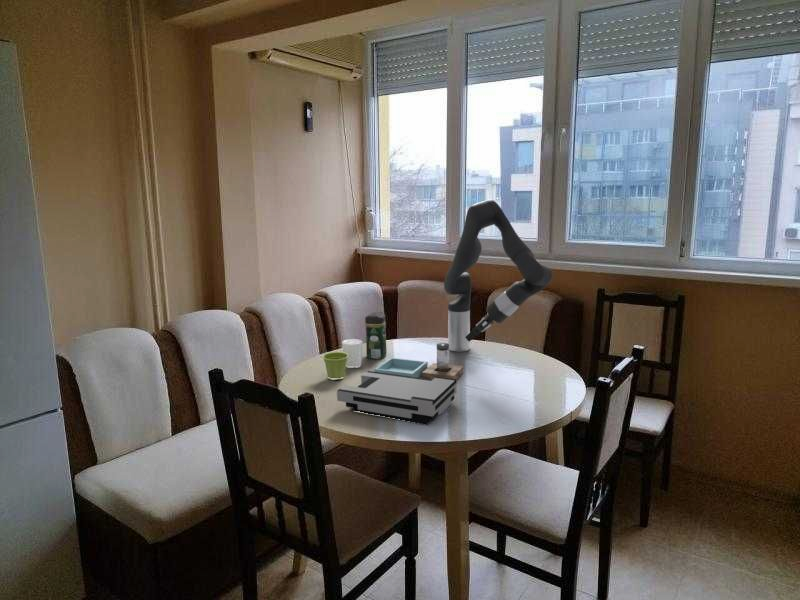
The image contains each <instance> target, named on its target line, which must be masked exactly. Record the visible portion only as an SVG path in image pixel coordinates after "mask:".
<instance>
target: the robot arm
mask: <svg viewBox="0 0 800 600" xmlns="http://www.w3.org/2000/svg"><path fill="white" fill-rule="evenodd" d="M491 226H495V227H496V228H497V229H498V230H499V232H500V234H501V243H502V247H503V251H504V253H505V255H507V257H508V258H509V259H510V260H511V261H512V262H513V264H514V265H515V266H516V267H517V269H518V271H519V272H520V274H521V276H522V277H523V279H522V280H520V281H515V282H514V283H513V284H511V285H510V286H509V287H508V288H507V289H505V291H504V292H502V293H501V294H499V295H498V296H497V297H496V298H495V299H494V300H493V301H491V303H490V304H489V305H487V307H486V309H485V310H486V312H487V313H486V314H485V315H484V316H483V317H482V318H481V320H480V321H478V322H477V323H476V324H475V326H474V328H472V329H471V302H472V301H471V300H472V298H471V297H472V295H471V294H472V276H471V274H470V273H469V272H467V271H469V270H470V269H471V268H473V267H474V266H475V265H476V263H478V260H479V258H480V256H481V254H482V250H483V249H482V247H483V246H482V243H481V241H480V239H479V234H480V231H481V230H482V229H485V228H488V227H491ZM552 278H553V272H552V270H551V269H550V267H548V266H546V265H542V264H541V263H539V262H538V260H537V259H536V258H535V255H534V253H533V251H532V250H531V249H530V248H529V246H528V245H527V244H526V243H525V242H524V241H523V240H522V238H521V237H520V236H519V235H518V233H517V232H516V230H515V229H514V226H512V224H511V222H510V221H509V219H508V217H507V215H506V214H505V213H504V211H503V209H502V208H501V206H500V205H499V204H498V203H497V202H496V201H495V200H493V199H486V200H483V201H479V202H476V203H473V204H472V205H470V206H469V207H468V209H467V211H466V215H465V220H464V225H463V230H462V234H461V237H460V240H459V242H458V244H457V248H456V251H455V254H454V257H453V260H452V263H451V265H450V267H449V269H448V270H447V273H446V275H445V277H444V283H443V288H444V291H445V293H446V294H448V295H452V296H453V295H459V297H458V298H455V300H452V301H450V302H449V303H448V306H447V308H448V309H447V310H448V311H447V315H448V319H447V322H448V323H447V333H448V334H447V337H448V339H447V344H449V351H452V352H467V351H469V350H470V348H471V347H470V346H471V344H470V343H471V341H472V340H473V339H475V338H476V337H477V336H479V335H480V333H483V332H485V331H486V330H487V329H488V328H490V327H491V326H492V325H493V324H495V322H496V323H497V324H503V323H504V322H505V321H506V320H507V319H508V318H510V316H511V315H512V314H514V313H515V312H516V311H517V309H519V307H520V306H522V305H523V304H524V303H525V302H526V301H527V300H528V299H529V298H531V297H532V296H534V295H535V294H537V293H539V292H541V291H542V290H543V289H545V288H546V287H547V286H549V284H550V283H551V281H552ZM470 329H471V330H470Z"/></svg>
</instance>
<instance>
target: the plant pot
mask: <svg viewBox="0 0 800 600" xmlns="http://www.w3.org/2000/svg"><path fill="white" fill-rule="evenodd" d="M347 358H348V354H346V353H343V351H341V352H340V351H334V352H333V351H332V352H328V353H325V354H323V355H322V359H323V361H324V363H325V369H326V374H327V378H328V377H330V378H341V377H344V376H345V377H346V369H347V368H346V361H347ZM345 377H344V378H345Z"/></svg>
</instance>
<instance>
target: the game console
mask: <svg viewBox="0 0 800 600" xmlns="http://www.w3.org/2000/svg"><path fill="white" fill-rule="evenodd" d="M360 378H361V379H360V381H361V384H359V385H358V386H353V385H352V386H351V385H344V386H342V387H341V388H339V389H337V390H336V399H337V401H338V402H342V403H345V407H347V408H352V411H353V410H354V411H360V412H364V413H368V414H374V415H380V416H385V417H390V418H395V419H400V420H399V421H401V420H405V421H404V422H407V421H410V422H409V423H412V422H415V423H414V424H418V423H419V425H424V424H425V426H428V424H429V423H430V422H433V421H435V419H436V418H437V417H440V415H441V414H442V413H443V412H444V411H445V410H446V409H447V408H448V407H449V406H450V405H451V404H452V402H453V401H454V400H455V395H456V393H457V380H456V379H452V378H444V377H435V378H434V379H433V380H432V379H425V378H422V377H421V378H418V377H410V376H403V375H395V374H388V373H381V372H374V370H373V371H371V370H367V371H365V372H364V373H363V374H361V376H360ZM395 419H394V420H395Z"/></svg>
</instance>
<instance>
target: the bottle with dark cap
mask: <svg viewBox="0 0 800 600" xmlns="http://www.w3.org/2000/svg"><path fill="white" fill-rule="evenodd" d="M436 363H437V371H439V372H449V365H450V350H449V344H448V342H447V343H446V342H438V343H436Z"/></svg>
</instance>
